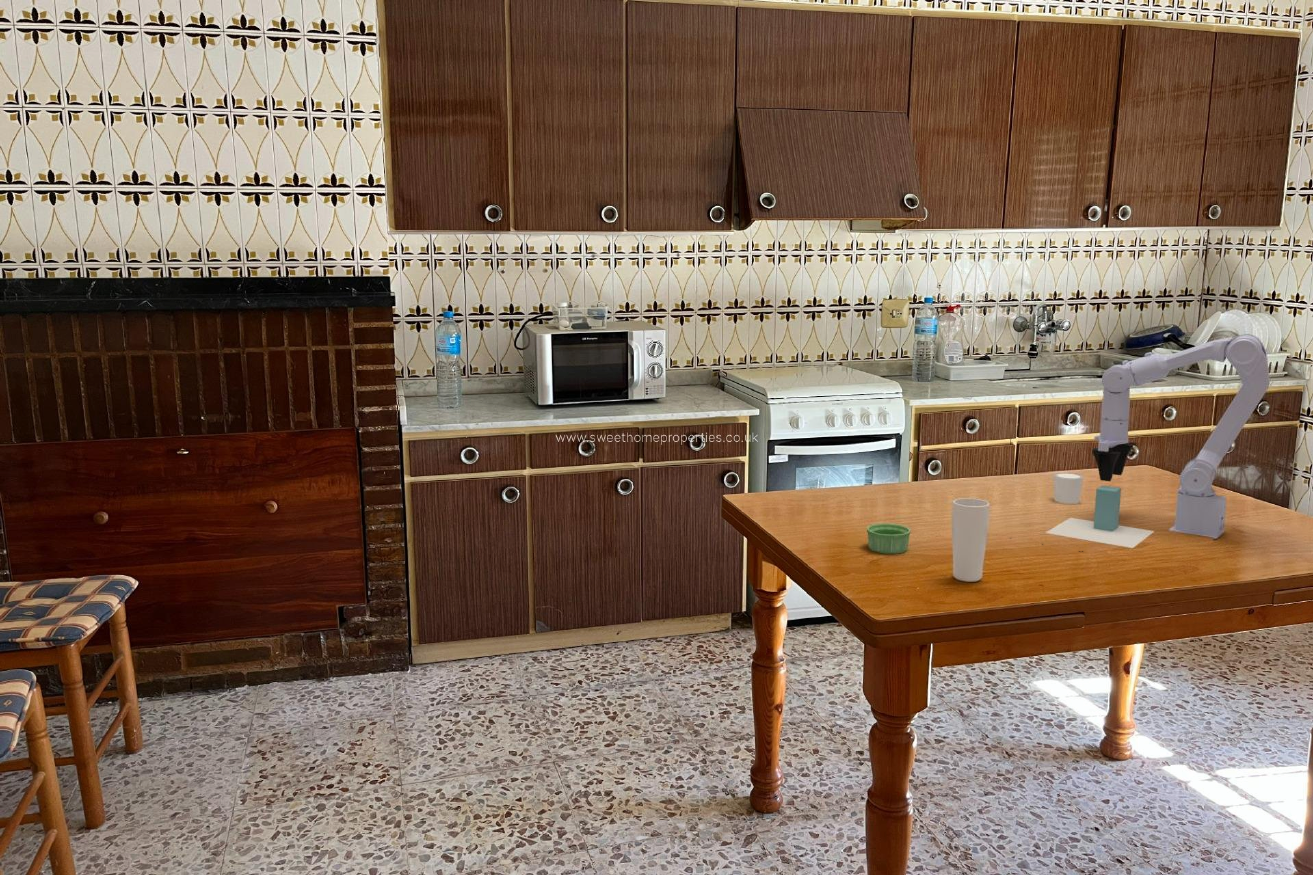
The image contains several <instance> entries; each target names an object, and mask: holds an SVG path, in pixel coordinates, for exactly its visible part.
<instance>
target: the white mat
mask: <svg viewBox="0 0 1313 875" xmlns="http://www.w3.org/2000/svg"><path fill="white" fill-rule="evenodd" d="M1153 533H1155V530H1151V529H1150V530H1148V529H1143V528H1138V527H1137V528H1136V527H1131V526H1124V525H1119V524H1118V528H1117V529H1116V530H1114V531H1113V532H1112V531H1106V530H1100V529H1094V520H1088V519H1083V518H1082V519H1080V518H1075V517H1069V518H1068V519H1066V520H1064V521H1062V522H1061V523H1059V524H1056V526H1054V527H1053V528H1051V529H1049V530H1047V531H1045V534H1049V535H1054V536H1059V537H1060V536H1061V537H1066V538H1072V539H1078V540H1083V541H1090V542H1095V543H1099V544H1100V543H1101V544H1107V545H1110V546H1111V545H1112V546H1118V547H1124V548H1130V549H1133V548H1135V547H1136V546H1138V545H1139V544H1140V543H1142V542H1143V541H1144V540H1145V539H1147V538H1148V537H1150V536H1151V535H1152V534H1153Z"/></svg>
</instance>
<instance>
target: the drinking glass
mask: <svg viewBox="0 0 1313 875" xmlns="http://www.w3.org/2000/svg"><path fill="white" fill-rule="evenodd" d="M952 501H953V502H952V508H951V538H952V541H951V542H952V544H951V545H952V565H953V566H952V576H953V577H954V578H955V579H956V580H958V581H962V582H968V583H971V582H974V583H975V582H978V581H980V580H981V579H982V578H983V568H984V561H985V554H986V547H987V539H988V534H989V533H988V532H989V527H990V526H989V525H990V502H989V501H987V500H984V499H980V498H973V497H962V498H956V499H954V500H952Z"/></svg>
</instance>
